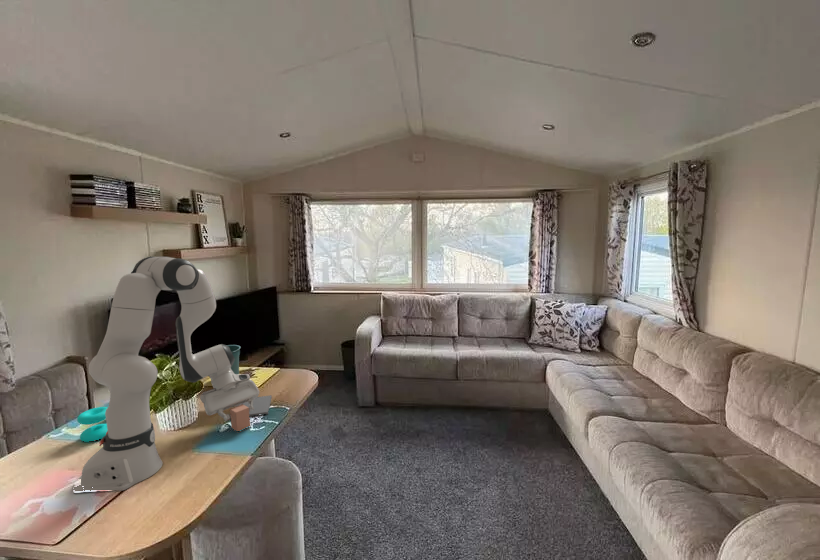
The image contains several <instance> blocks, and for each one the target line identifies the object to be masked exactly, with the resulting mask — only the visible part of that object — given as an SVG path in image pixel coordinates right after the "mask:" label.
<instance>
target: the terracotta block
mask: <svg viewBox="0 0 820 560" xmlns="http://www.w3.org/2000/svg"><path fill="white" fill-rule="evenodd" d="M229 413H230V414H229V417H230V424H231V425H230V427H231V429H232V428H233V429H234V430H233V429H232V430H233V431H235V430H236V431H240V430H242V429H244V428H246V427H248V426H250V427H251V419H250V418H251V417H249V408H248V407H247V406H245V405H243V404H241V405H239V406H234V407H232V408H229ZM236 431H235V432H236ZM240 432H241V431H240Z"/></svg>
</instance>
